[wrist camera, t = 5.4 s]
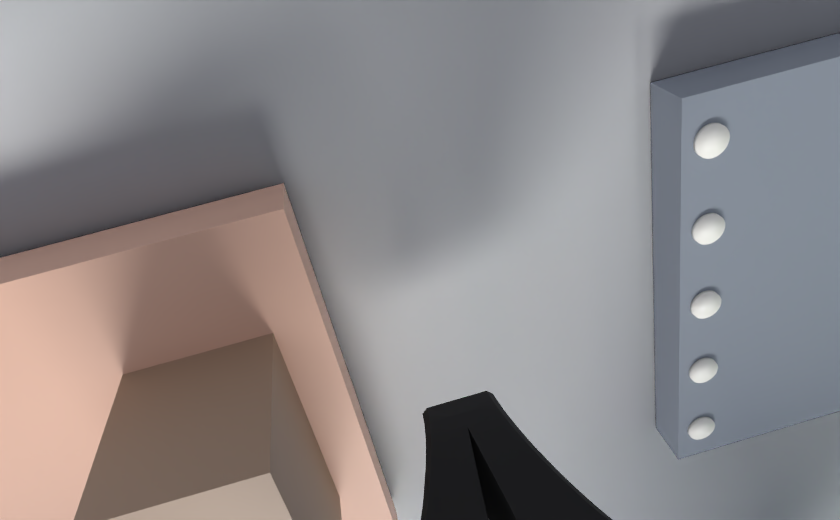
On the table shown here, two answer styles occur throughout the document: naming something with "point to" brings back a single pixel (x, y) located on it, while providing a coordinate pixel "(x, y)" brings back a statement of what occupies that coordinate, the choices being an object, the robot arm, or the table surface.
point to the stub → (180, 376)
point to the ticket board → (746, 245)
